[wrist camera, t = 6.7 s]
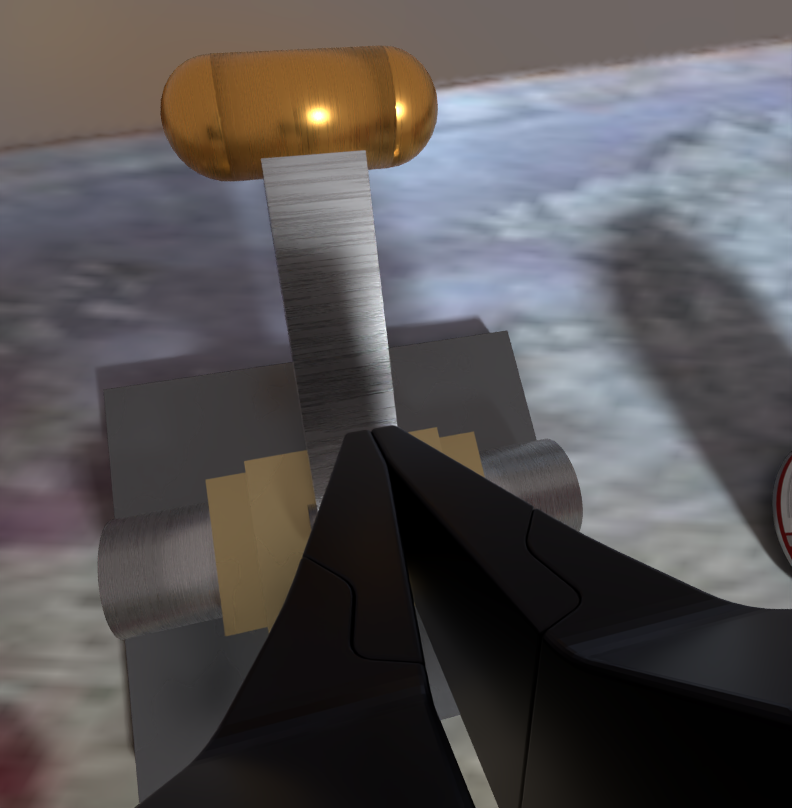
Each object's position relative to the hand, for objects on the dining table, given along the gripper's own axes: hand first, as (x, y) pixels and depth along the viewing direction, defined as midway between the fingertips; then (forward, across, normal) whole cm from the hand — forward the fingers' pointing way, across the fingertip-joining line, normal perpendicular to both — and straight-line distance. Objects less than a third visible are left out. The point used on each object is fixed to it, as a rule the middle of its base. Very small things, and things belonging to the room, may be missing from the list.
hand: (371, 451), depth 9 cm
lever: (+2, 0, +4) cm, 5 cm away
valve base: (+7, 0, +8) cm, 10 cm away
